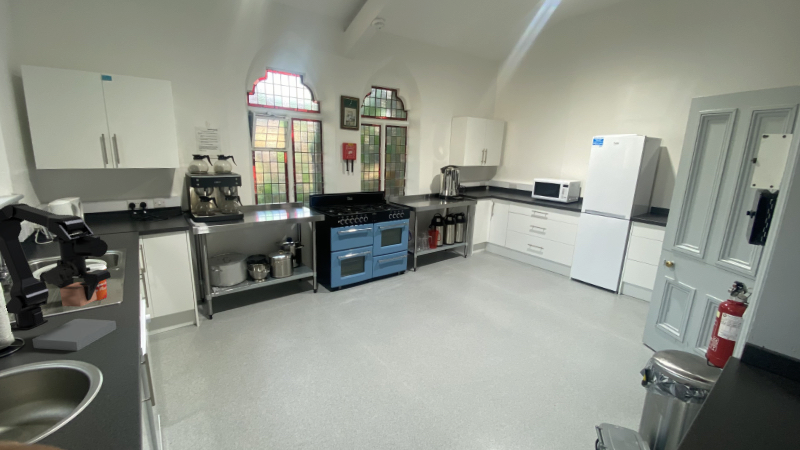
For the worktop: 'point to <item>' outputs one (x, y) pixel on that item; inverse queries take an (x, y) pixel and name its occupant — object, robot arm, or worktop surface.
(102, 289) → the paper cup
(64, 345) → the plinth
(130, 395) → the worktop surface
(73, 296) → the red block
